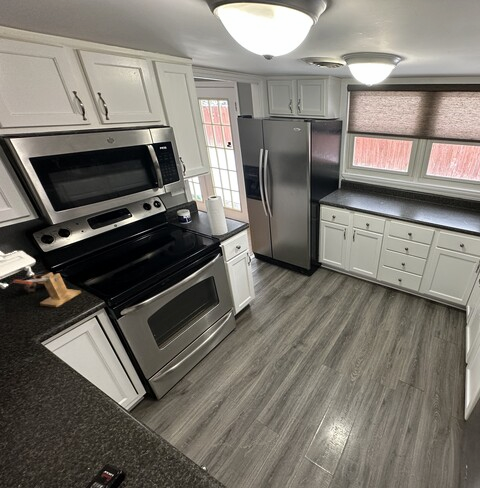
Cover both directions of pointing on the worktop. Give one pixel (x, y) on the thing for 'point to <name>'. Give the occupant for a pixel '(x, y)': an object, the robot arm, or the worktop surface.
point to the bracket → (57, 291)
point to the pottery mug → (33, 284)
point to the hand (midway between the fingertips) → (19, 281)
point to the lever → (31, 280)
